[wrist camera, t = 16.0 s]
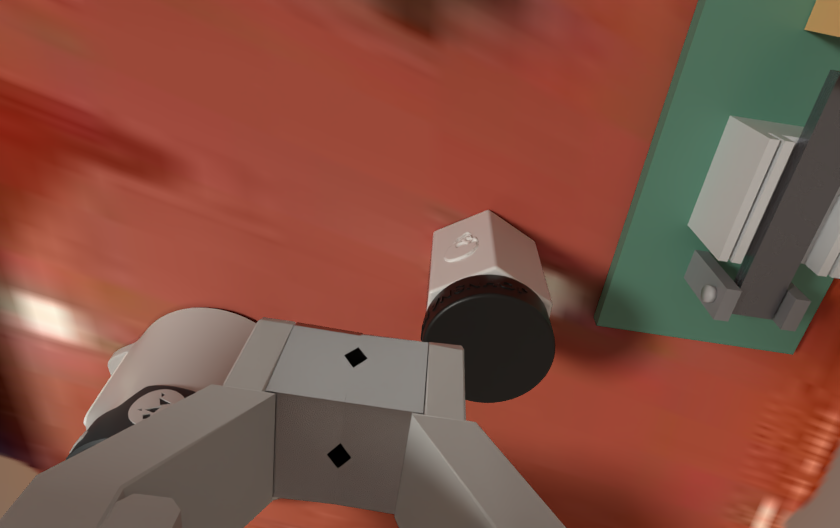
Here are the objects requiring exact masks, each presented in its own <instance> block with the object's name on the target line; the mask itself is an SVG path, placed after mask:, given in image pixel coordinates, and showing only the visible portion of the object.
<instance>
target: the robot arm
mask: <svg viewBox="0 0 840 528" xmlns="http://www.w3.org/2000/svg"><path fill="white" fill-rule="evenodd" d="M108 368H109V371H110V374H111V377H110V379H109V380H108V382H107V383H106V385H105V386H104V388H103V389H102V391H101V392H100V394H99V395H98V397H97V398H96V400H95V401H94V403H93V404H92V406H91V407H90V409H89V411H88V412H87V414H86V416H85V418H84V425H85V426H86V430H87V431H85V432H84V434H83V435H82V436H80V438H79V439H78V440H77V442H76V443H75V444H74V446H73V448H72V449H71V451H70V454H69V456H68V457H67V458H66V460H65V461H63V462H61V463H60V464H58V465H56V466H54V467H52V468H50V469H48V470H46V471H44V472H42V473H40V474H38V475H36V476H35V478H34V479H33V480H32V482H31V483H30V484H29V485H28V486H27V487H26V489H25V490H24V491H23V492H22V494H21V495H20V496H19V497H18V499H17V500H16V501H15V502H14V503H13V505H12V506H11V507H10V508H9V510H8V511H7V512H6V513H5V515H4V516H3V517H2V518H1V520H0V528H244V527H245V526H246V525H247V524H248V523H249V522H250V521H251V520H253V519H254V517H255V516H257V515H258V514H259V513H260V512H261V511H262V510H263V509H264V508H265V507H266V506H267V505H268V504H269V503H270V502H272V500H276V499H279V498H285V499H294V500H303V501H312V502H321V503H330V504H334V503H335V504H337V505H343V506H349V507H355V508H361V509H367V510H372V511H378V512H384V513H390V514H395V516H394V518H395V520H396V522H397V524H398V526H399V528H566V527H565V526H564V525H563V524H562V522H561V521H560V520H559V519H558V518H557V517H556V515H555V514H554V513H553V512H552V511H551V510H550V508H549V507H548V506H547V505H546V504H545V503H544V501H543V500H542V499H541V498H540V497H539V495H538V494H537V493H536V492H535V491H534V490H533V488H532V487H531V486H530V485H529V484H528V483H527V481H526V480H525V479H524V478H523V477H522V476H521V474H520V473H519V472H518V471H517V470H516V469H515V467H514V466H513V465H512V464H511V463H510V462H509V460H508V459H507V458H506V457H505V456H504V455H503V453H502V452H501V451H500V450H499V449H498V448H497V446H496V445H495V444H494V443H493V442H492V440H491V439H490V438H489V437H488V436H487V435H486V433H485V432H484V431H483V430H482V429H481V428H480V426H479V425H478V424H477V423H476V422H471V421H466V410H465V369H464V349H463V347H462V346H461V345H452V344H443V343H434V342H429V344H428V342H420V341H412V340H405V339H397V338H390V337H382V336H374V335H367V334H363V333H359V332H353V331H347V330H341V329H335V328H329V327H323V326H317V325H311V324H305V323H299V322H297V323H295V322H293V321H286V320H279V319H272V318H266V317H263V318H262V319H260V320H259V321H257V323H255V322H253V321H251V320H249V319H247V318H245V317H243V316H240V315H237V314H235V313H232V312H228V311H224V310H220V309H213V308H188V309H182V310H178V311H175V312H172V313H169V314H167V315H165V316H163V317H161V318H160V319H158V320H157V321H155V322H154V323H153V324H152V325H151V326H150V327H149V328H148V329H147V330H146V331H145V333H144V334H143V335H142V336H141V338H140V339H139V340H138V341H136V342H135V343H133V344H130V345H128V346H125V347H123V348H121V349H119V350H117V351H116V352H115V353H114V354H113V355H112V357H111V358H110V360H109V362H108Z"/></svg>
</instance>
